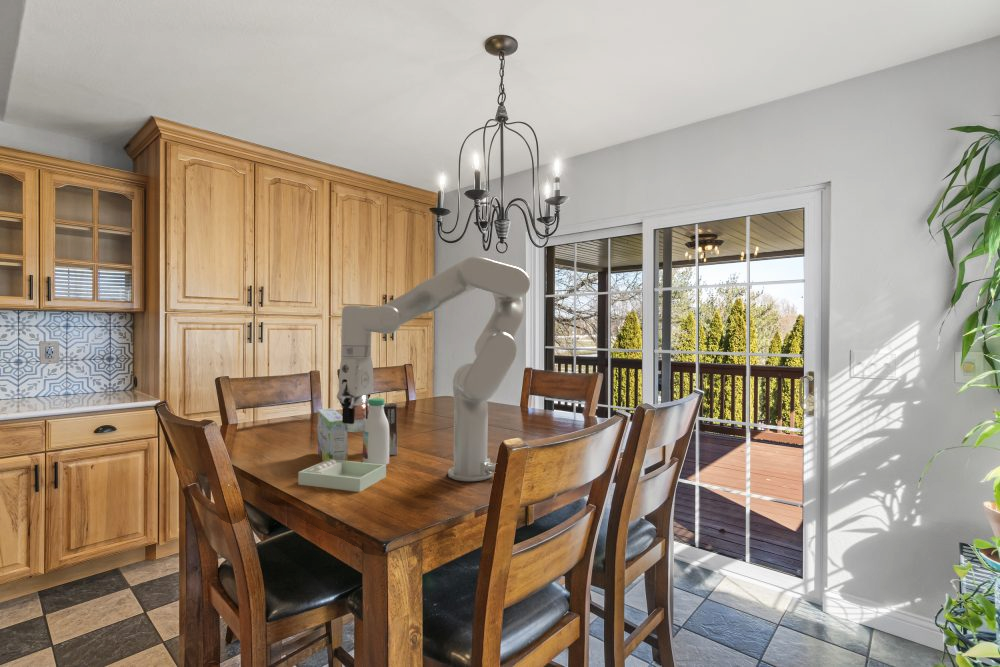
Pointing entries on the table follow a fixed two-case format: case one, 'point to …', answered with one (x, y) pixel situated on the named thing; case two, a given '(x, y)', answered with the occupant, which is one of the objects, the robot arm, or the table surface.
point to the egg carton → (328, 468)
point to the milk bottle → (376, 434)
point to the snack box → (331, 435)
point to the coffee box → (392, 426)
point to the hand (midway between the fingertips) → (355, 420)
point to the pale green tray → (345, 476)
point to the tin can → (358, 415)
